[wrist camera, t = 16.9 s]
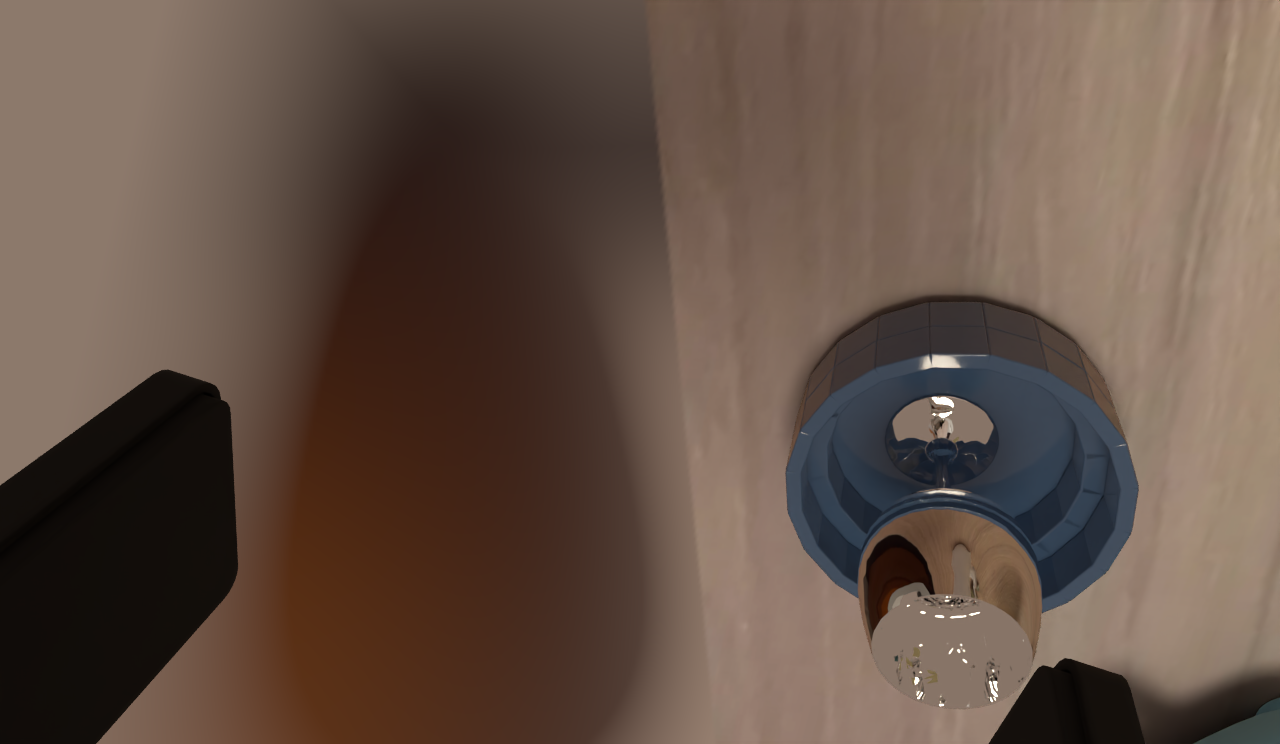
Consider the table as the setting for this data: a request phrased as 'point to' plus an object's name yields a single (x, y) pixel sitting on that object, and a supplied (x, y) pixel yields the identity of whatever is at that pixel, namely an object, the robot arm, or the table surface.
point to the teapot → (1251, 728)
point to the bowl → (1027, 425)
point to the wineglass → (948, 566)
